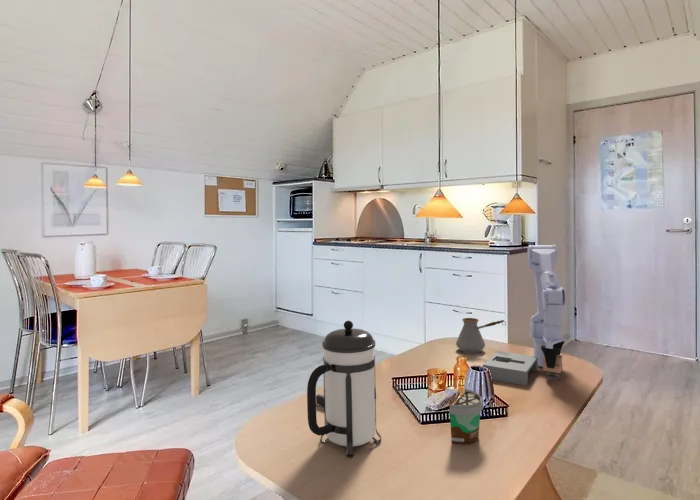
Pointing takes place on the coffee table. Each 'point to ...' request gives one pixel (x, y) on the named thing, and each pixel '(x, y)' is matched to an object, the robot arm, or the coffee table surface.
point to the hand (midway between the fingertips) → (552, 364)
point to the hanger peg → (552, 371)
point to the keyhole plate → (511, 367)
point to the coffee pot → (472, 336)
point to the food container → (465, 418)
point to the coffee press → (346, 389)
